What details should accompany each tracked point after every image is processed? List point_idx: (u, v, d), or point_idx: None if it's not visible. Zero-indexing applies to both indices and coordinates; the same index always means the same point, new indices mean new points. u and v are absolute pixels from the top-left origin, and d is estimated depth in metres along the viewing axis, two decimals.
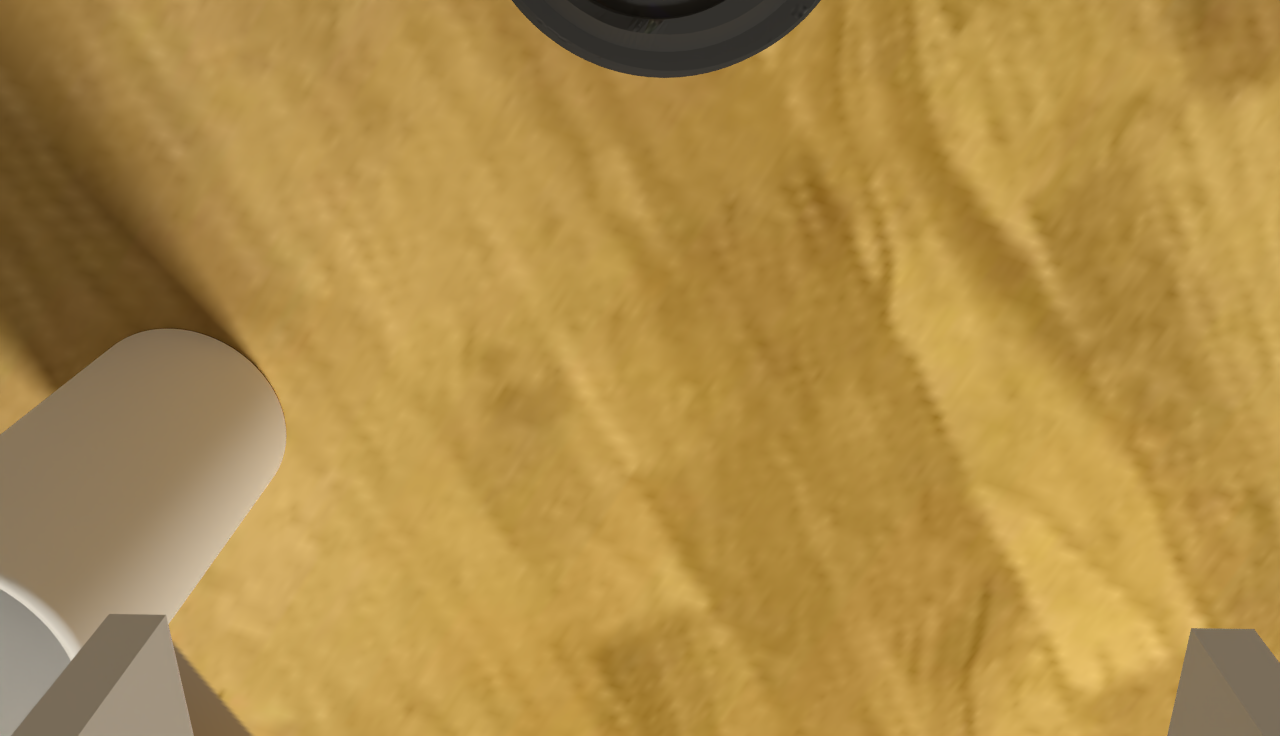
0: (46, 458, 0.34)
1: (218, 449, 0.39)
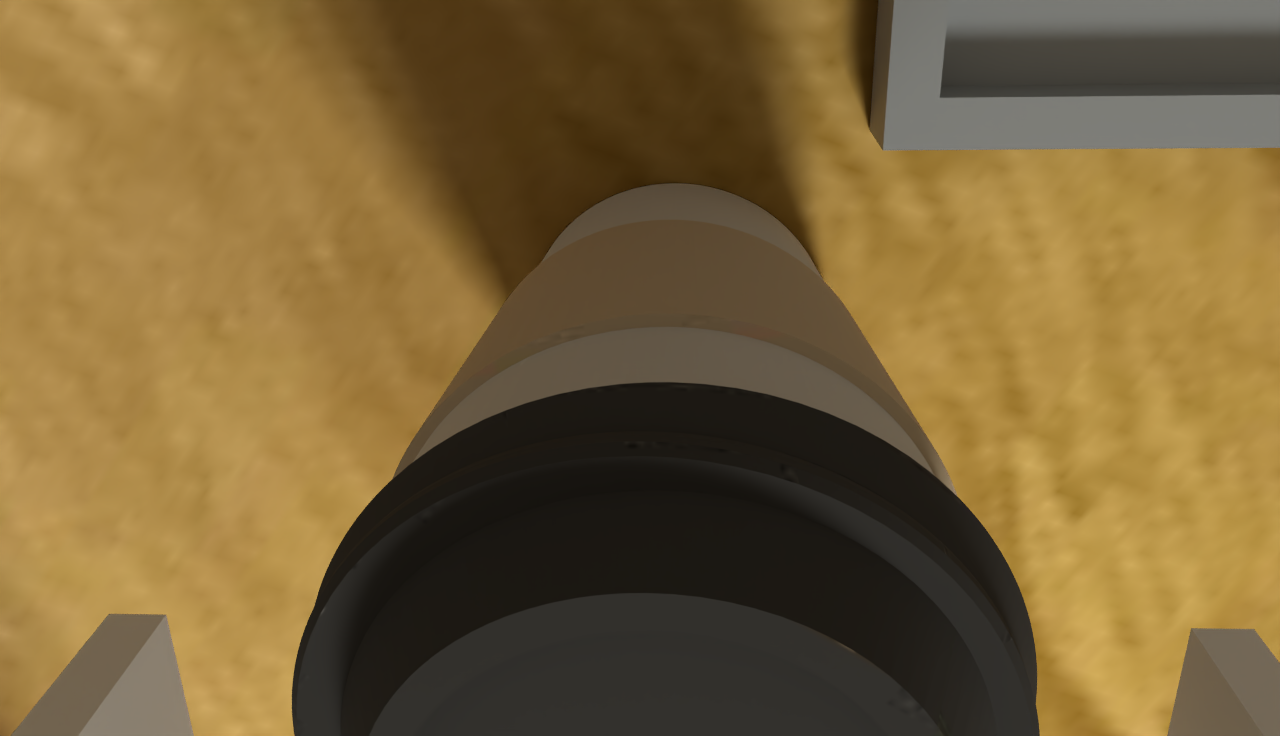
0: None
1: None
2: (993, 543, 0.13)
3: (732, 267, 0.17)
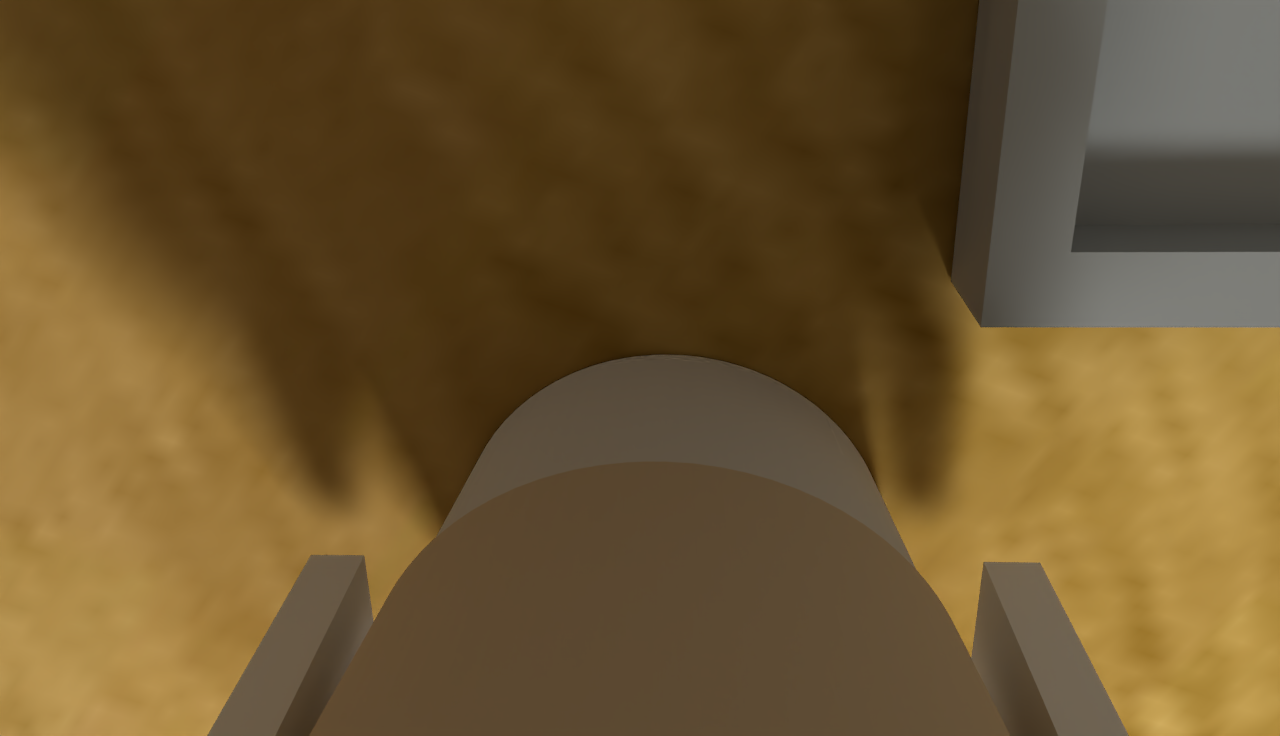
0: None
1: None
2: None
3: (763, 610, 0.10)
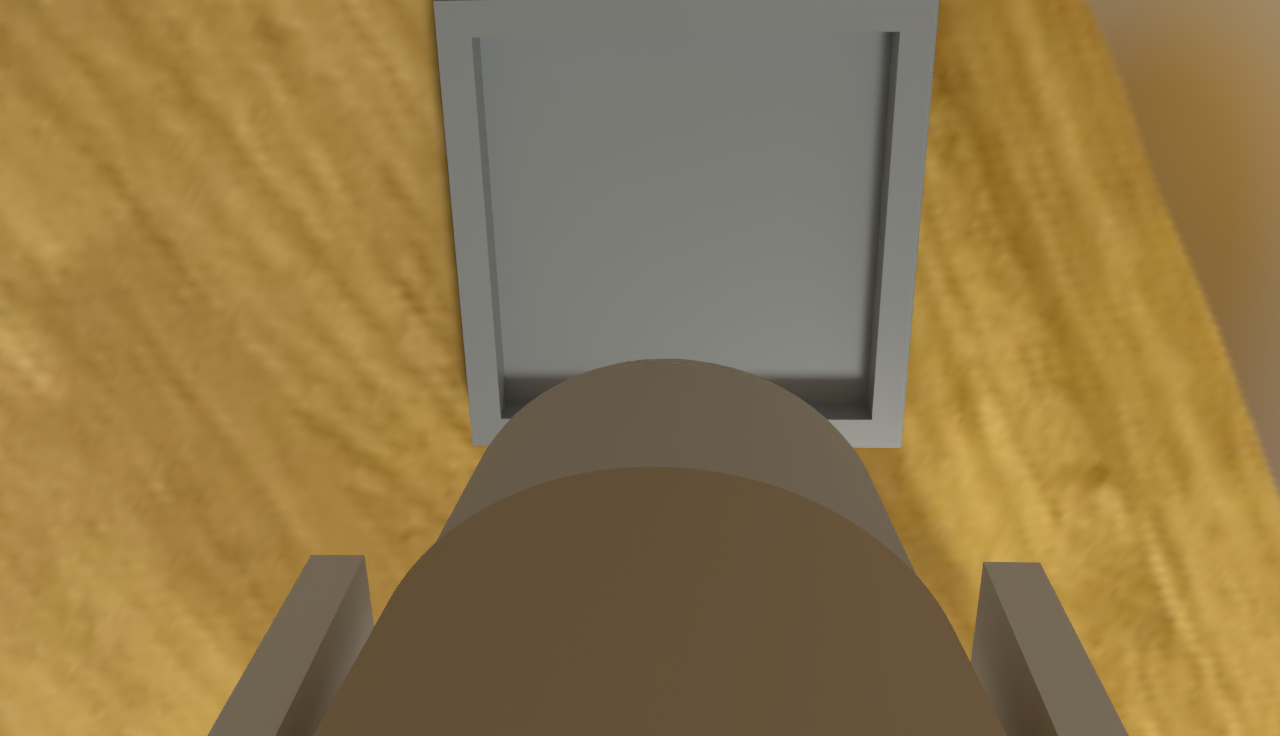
0: None
1: None
2: None
3: (763, 616, 0.10)
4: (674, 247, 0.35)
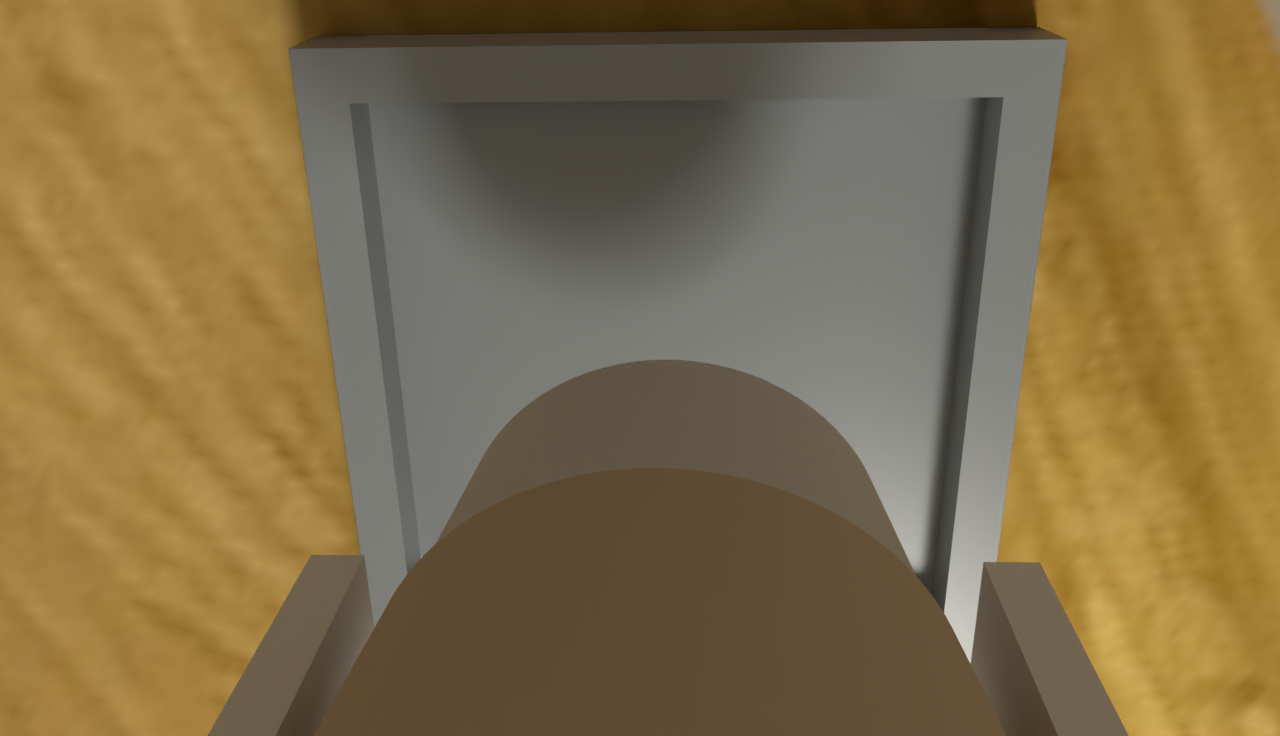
0: None
1: None
2: None
3: (763, 618, 0.10)
4: None
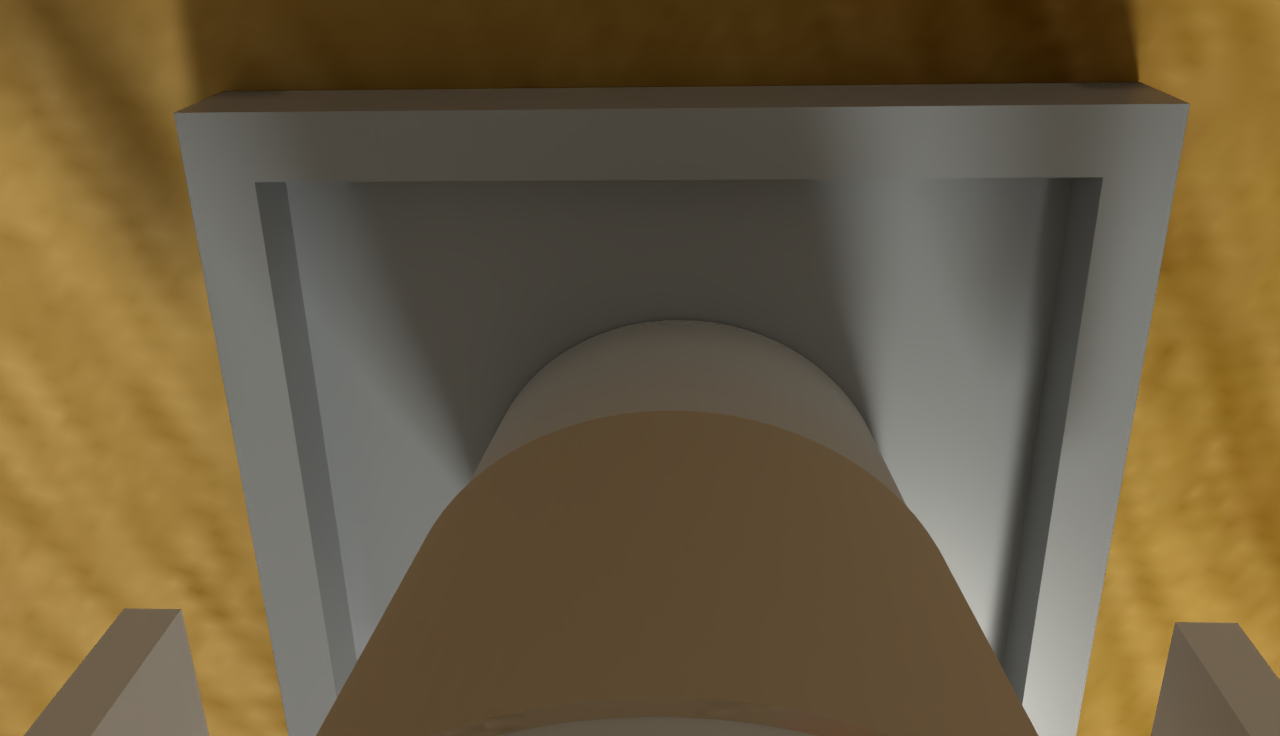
0: None
1: None
2: None
3: (772, 532, 0.11)
4: None
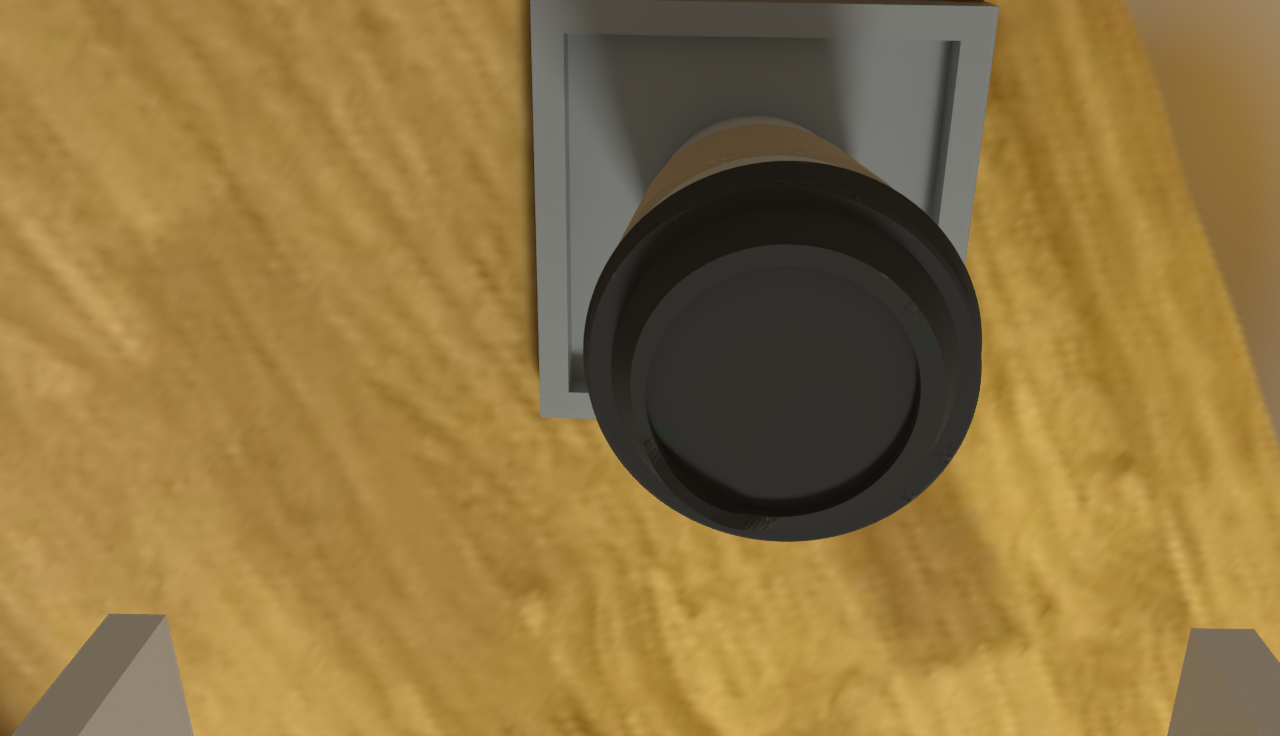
0: None
1: None
2: (958, 255, 0.24)
3: (810, 140, 0.29)
4: None
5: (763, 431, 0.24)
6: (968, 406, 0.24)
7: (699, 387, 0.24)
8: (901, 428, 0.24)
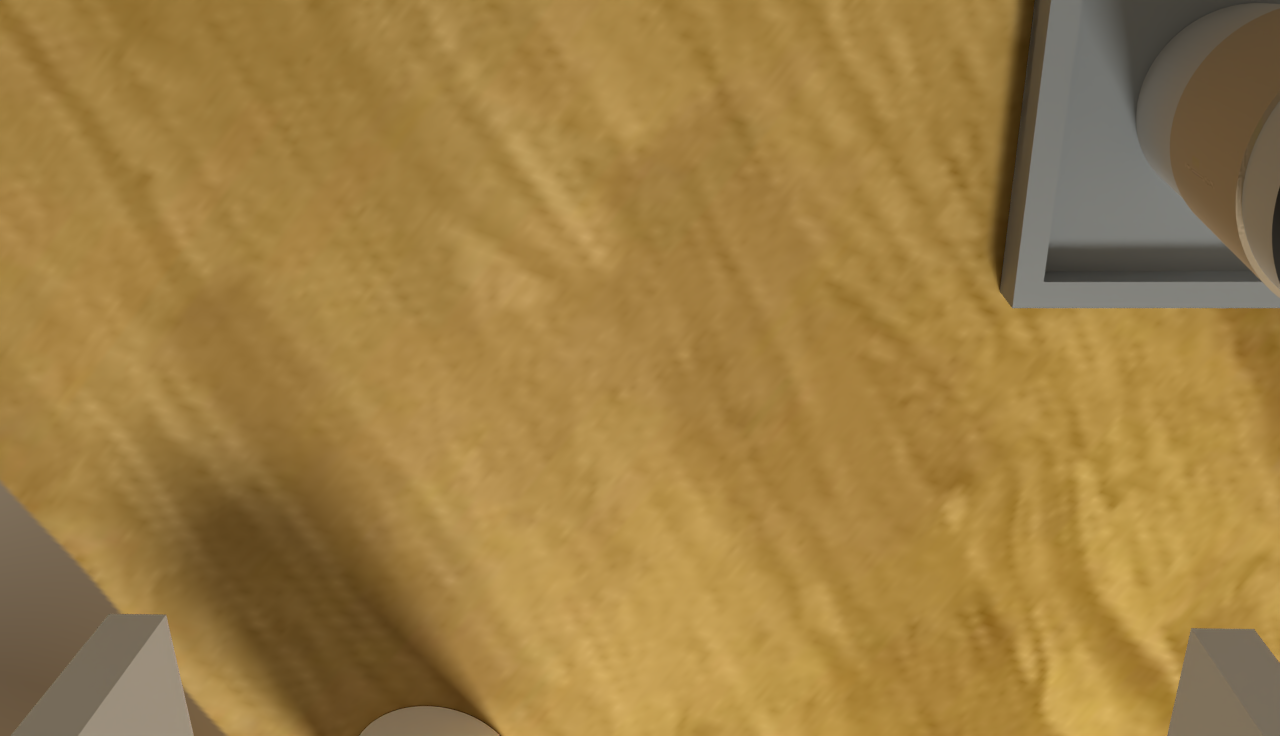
0: None
1: None
2: None
3: None
4: None
5: None
6: None
7: None
8: None
